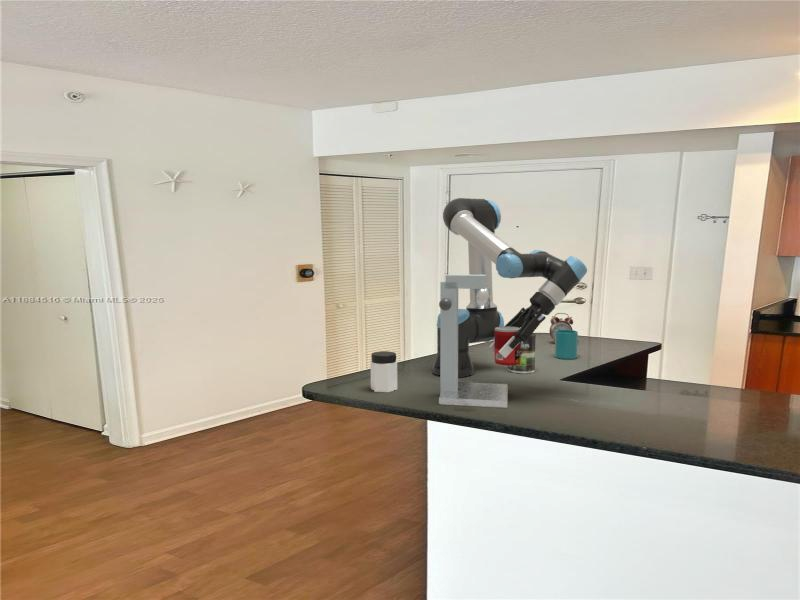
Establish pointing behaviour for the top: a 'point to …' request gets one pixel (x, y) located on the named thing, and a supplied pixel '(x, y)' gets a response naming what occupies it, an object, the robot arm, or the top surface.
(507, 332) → the canned food
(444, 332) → the press
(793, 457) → the top surface
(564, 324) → the alarm clock
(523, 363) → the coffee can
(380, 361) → the jar
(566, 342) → the cup
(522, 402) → the top surface
